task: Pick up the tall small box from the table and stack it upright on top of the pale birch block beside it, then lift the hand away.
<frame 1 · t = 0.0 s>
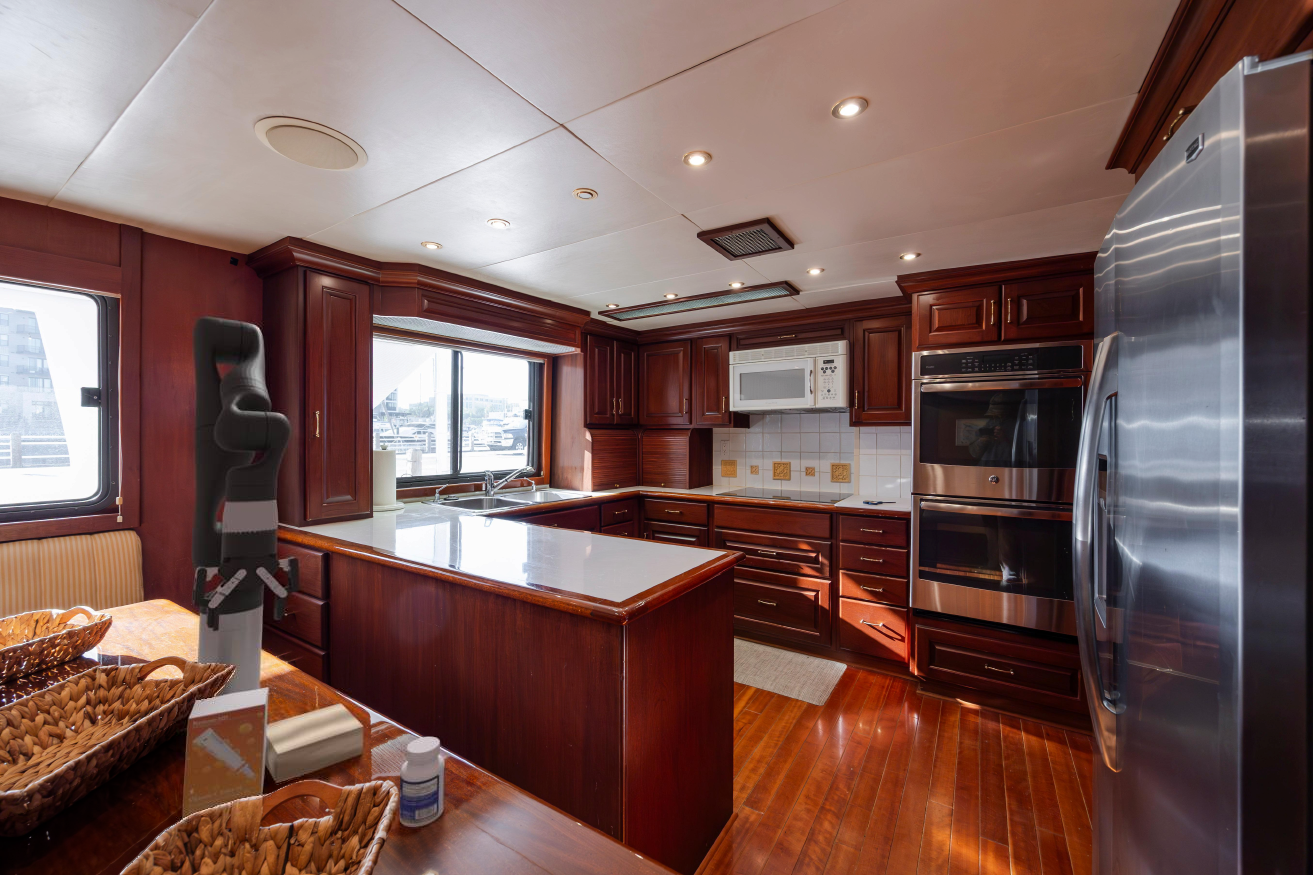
hand: (247, 624, 90), 17 cm above the table, tool pointing down, fingers open, 8 cm apart
birch block: (311, 755, 82), on the table
pill bottle: (421, 815, 69), on the table
small box: (225, 802, 71), on the table
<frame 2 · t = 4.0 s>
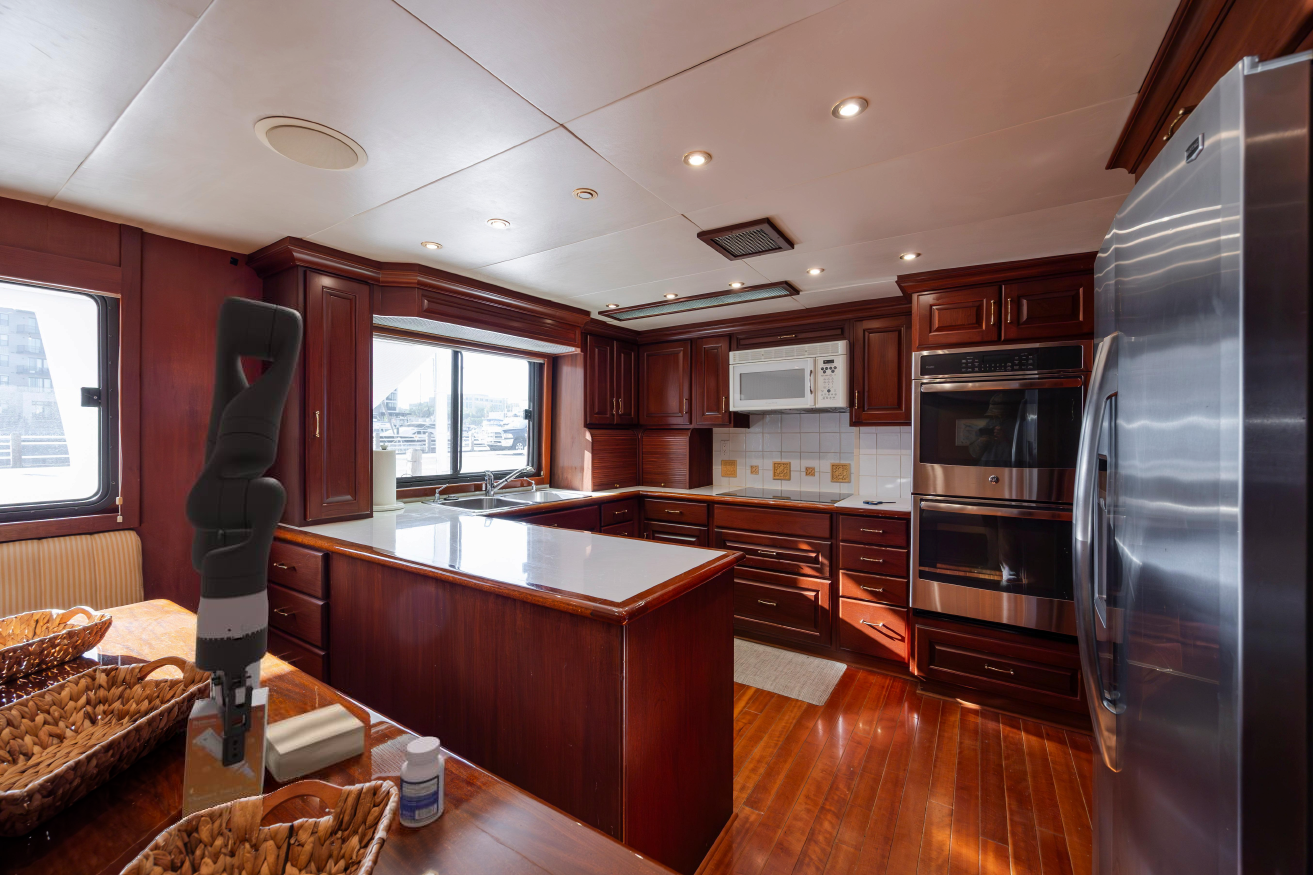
hand: (227, 751, 71), 6 cm above the table, tool pointing down, fingers closed on small box, 7 cm apart
small box: (225, 802, 71), on the table, touching gripper
everything else where it was.
when the fingers open (12 cm above the table, at t = 9.9 s): small box drops 2 cm, point 4 cm above the table.
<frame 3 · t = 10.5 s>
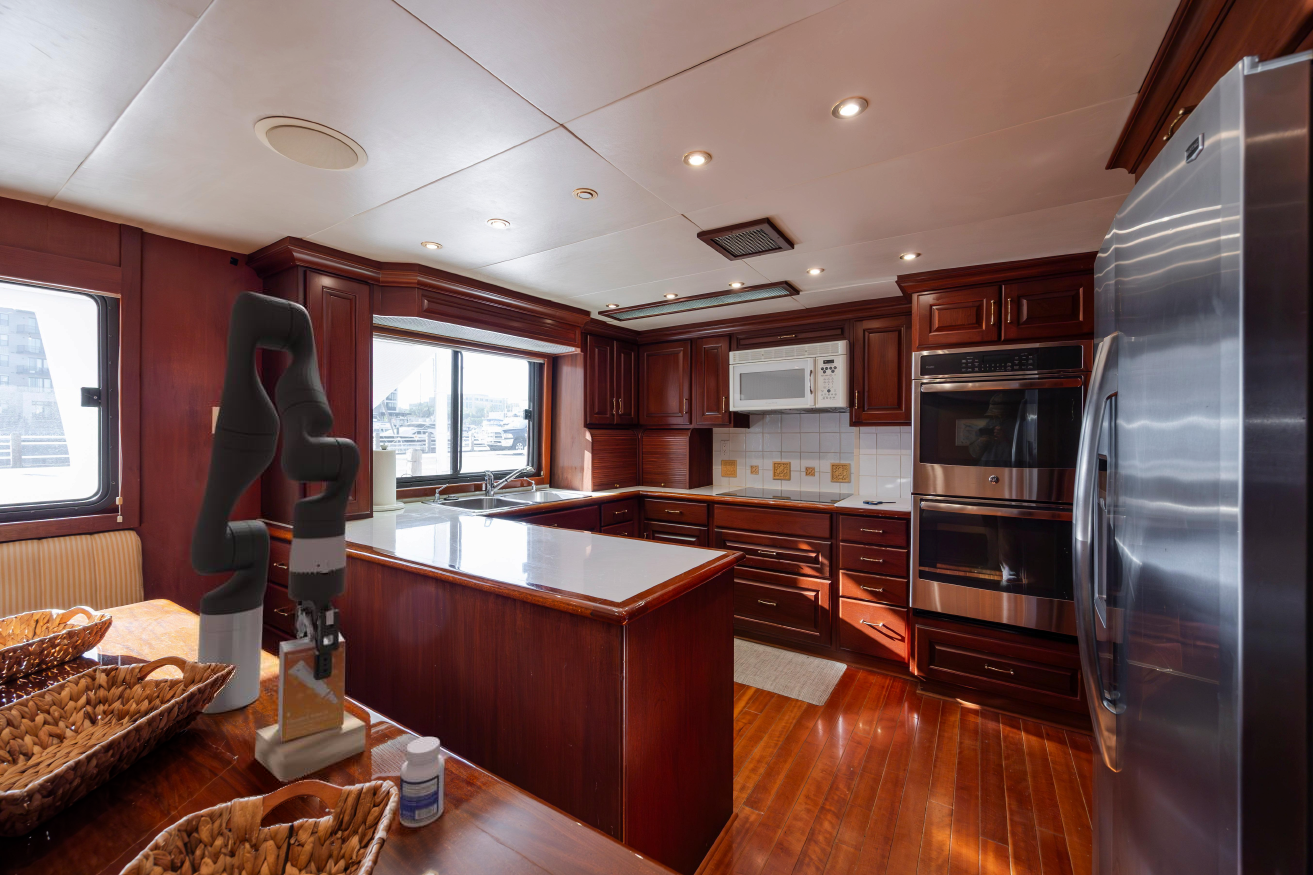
hand: (314, 670, 83), 13 cm above the table, tool pointing down, fingers open, 8 cm apart
small box: (311, 727, 82), point 4 cm above the table
everything else where it was.
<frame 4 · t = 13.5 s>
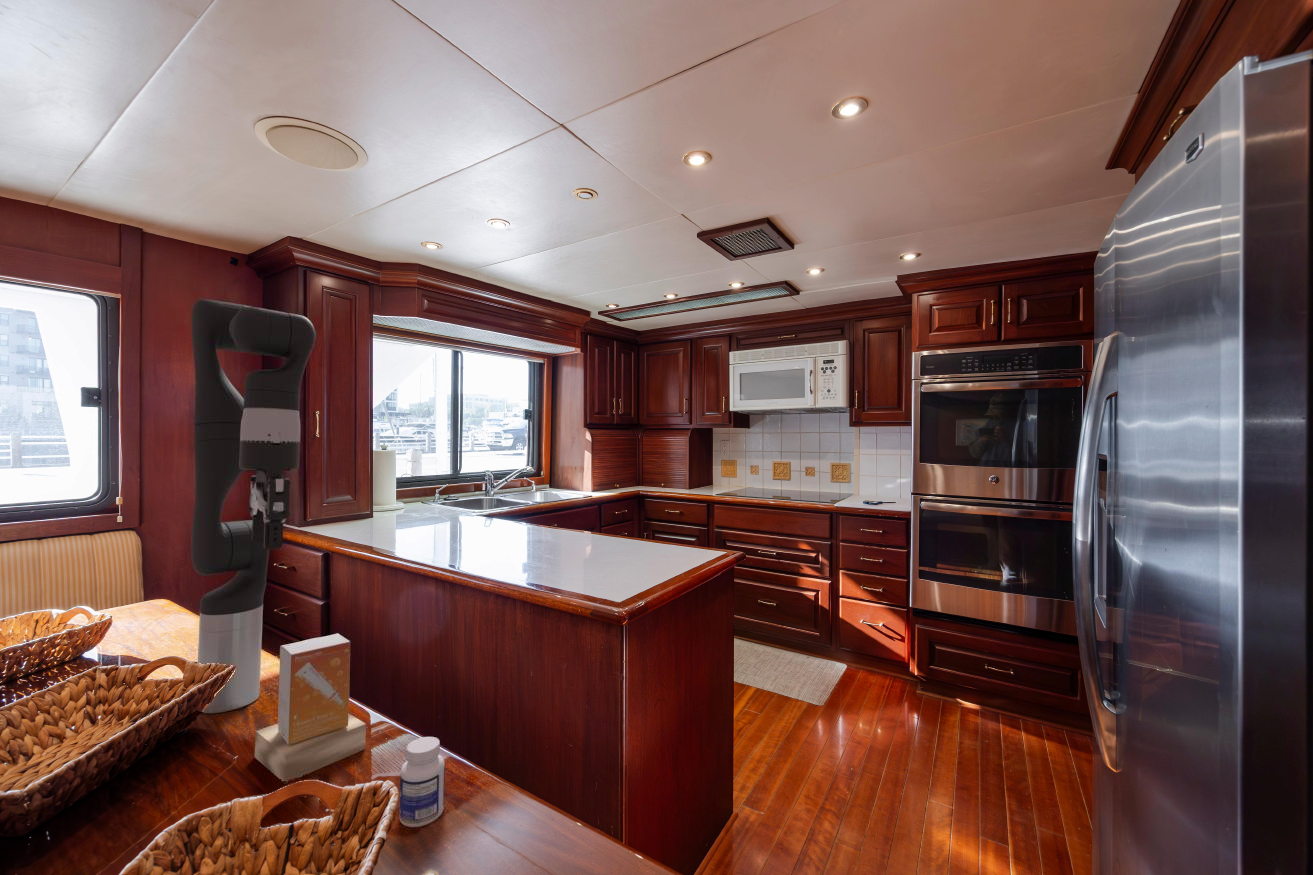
hand: (266, 544, 82), 32 cm above the table, tool pointing down, fingers open, 8 cm apart
birch block: (310, 756, 83), on the table, touching small box
small box: (313, 730, 82), point 4 cm above the table, touching birch block
everything else where it was.
at the end: small box 1.0 cm off-centre on the birch block, point 4.3 cm above the birch block's base; small box tilted 1°; the gripper is holding nothing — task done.
